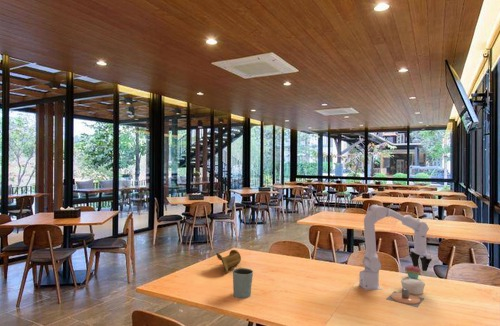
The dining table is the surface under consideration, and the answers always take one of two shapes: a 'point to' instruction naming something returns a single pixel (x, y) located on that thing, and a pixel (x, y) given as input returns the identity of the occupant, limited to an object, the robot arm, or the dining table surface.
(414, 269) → the cupcake
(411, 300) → the lid
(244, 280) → the grey cup
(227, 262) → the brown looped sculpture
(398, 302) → the mat
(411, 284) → the ramekin
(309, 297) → the dining table surface
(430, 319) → the dining table surface
